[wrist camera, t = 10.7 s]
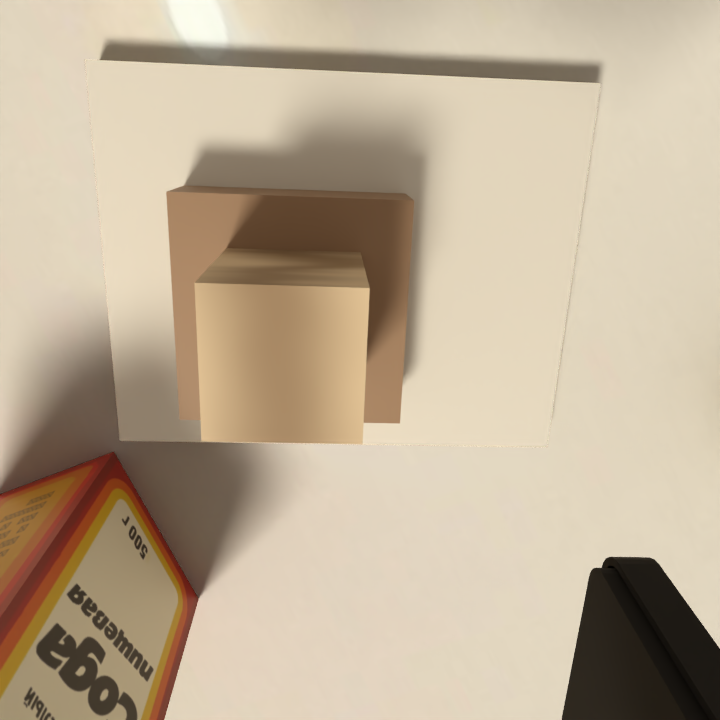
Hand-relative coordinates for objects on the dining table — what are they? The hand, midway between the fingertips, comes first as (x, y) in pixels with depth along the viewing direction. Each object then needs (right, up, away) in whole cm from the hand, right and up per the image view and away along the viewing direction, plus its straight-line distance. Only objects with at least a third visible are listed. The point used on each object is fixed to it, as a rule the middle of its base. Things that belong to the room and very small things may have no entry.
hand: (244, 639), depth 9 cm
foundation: (+1, +8, +20) cm, 22 cm away
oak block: (-1, +6, +16) cm, 17 cm away
